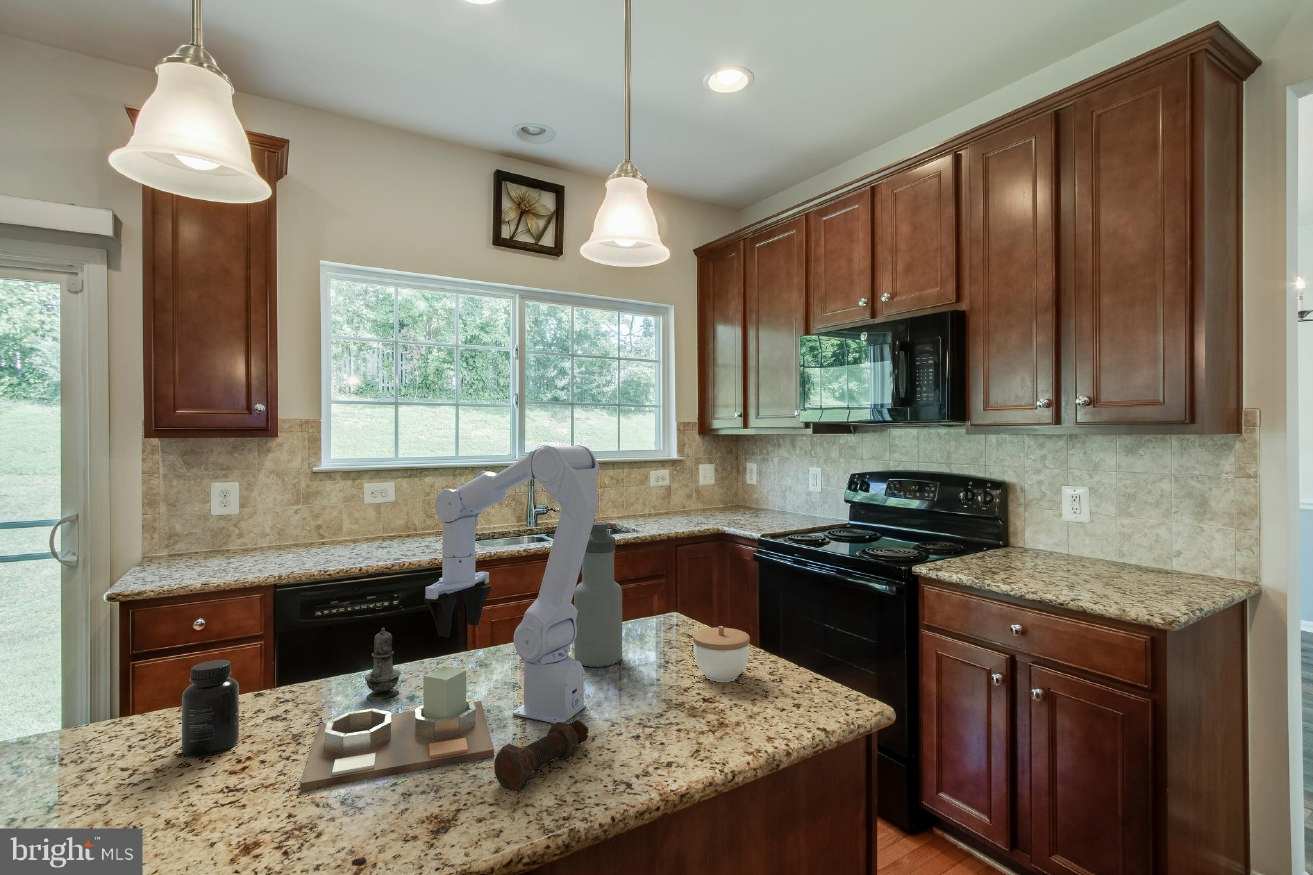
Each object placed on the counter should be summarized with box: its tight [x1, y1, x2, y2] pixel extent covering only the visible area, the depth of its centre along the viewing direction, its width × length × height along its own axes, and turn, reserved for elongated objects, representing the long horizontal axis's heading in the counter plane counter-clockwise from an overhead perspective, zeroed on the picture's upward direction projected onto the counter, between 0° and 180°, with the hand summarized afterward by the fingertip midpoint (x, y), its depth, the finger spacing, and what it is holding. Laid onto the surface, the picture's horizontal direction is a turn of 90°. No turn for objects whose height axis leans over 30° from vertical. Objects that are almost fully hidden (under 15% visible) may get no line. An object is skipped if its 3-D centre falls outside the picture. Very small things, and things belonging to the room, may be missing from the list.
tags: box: [332, 738, 468, 775], centre depth 87 cm, size 17×4×1 cm, turn 111°
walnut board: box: [300, 700, 495, 792], centre depth 93 cm, size 24×18×1 cm
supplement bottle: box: [181, 659, 240, 758], centre depth 92 cm, size 7×7×12 cm
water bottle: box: [573, 521, 623, 668], centre depth 129 cm, size 10×10×28 cm
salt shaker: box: [364, 626, 402, 703], centre depth 111 cm, size 6×6×12 cm
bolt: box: [493, 719, 590, 793], centre depth 87 cm, size 6×5×15 cm
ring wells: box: [325, 698, 476, 755], centre depth 94 cm, size 21×9×2 cm, turn 111°
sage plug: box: [423, 666, 467, 720], centre depth 96 cm, size 4×4×8 cm
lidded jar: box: [692, 625, 751, 683], centre depth 119 cm, size 11×11×9 cm
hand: (459, 630), depth 114 cm, fingers open, 7 cm apart
